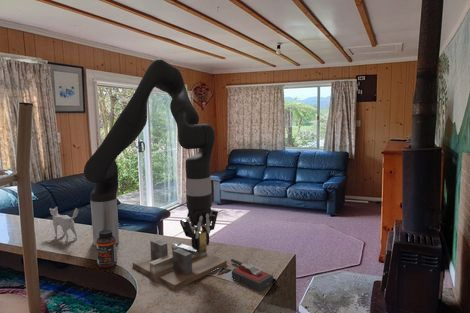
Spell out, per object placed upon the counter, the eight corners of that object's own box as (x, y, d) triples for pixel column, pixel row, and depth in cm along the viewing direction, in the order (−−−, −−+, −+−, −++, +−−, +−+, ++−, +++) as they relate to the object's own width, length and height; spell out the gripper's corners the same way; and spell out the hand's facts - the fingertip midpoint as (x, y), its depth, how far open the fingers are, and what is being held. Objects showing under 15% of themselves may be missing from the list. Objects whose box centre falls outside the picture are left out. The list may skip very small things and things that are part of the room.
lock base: (132, 266, 111) (131, 244, 110) (183, 247, 127) (182, 227, 126) (175, 290, 97) (174, 264, 95) (226, 264, 112) (226, 242, 111)
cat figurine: (59, 232, 144) (56, 199, 143) (85, 242, 133) (83, 206, 131) (48, 235, 141) (45, 201, 139) (74, 245, 129) (71, 209, 127)
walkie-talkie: (282, 283, 100) (233, 262, 114) (282, 269, 100) (233, 250, 114) (262, 295, 94) (213, 271, 108) (262, 279, 94) (213, 258, 108)
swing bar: (169, 248, 109) (168, 226, 109) (176, 245, 112) (175, 224, 111) (202, 257, 102) (201, 234, 101) (208, 254, 105) (208, 231, 104)
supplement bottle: (96, 269, 110) (94, 235, 108) (98, 261, 115) (96, 229, 114) (116, 267, 111) (114, 233, 110) (117, 259, 117) (115, 227, 115)
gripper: (189, 199, 94) (191, 258, 97) (224, 188, 104) (225, 242, 107) (171, 194, 99) (174, 251, 102) (207, 185, 109) (208, 236, 112)
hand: (200, 246), depth 104 cm, fingers closed on swing bar, 3 cm apart
